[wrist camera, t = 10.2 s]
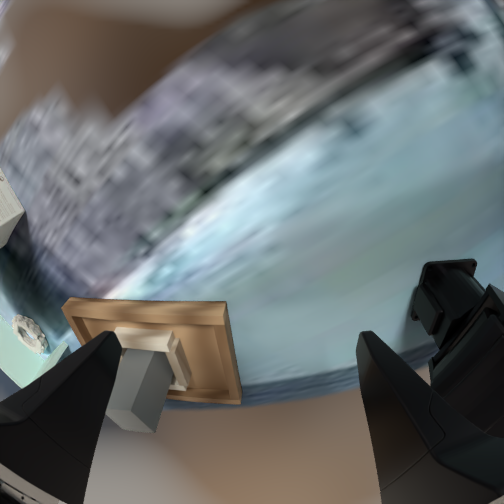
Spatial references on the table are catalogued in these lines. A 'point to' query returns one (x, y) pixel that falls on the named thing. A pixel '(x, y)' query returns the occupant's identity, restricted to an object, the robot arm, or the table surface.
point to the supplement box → (8, 209)
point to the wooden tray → (169, 340)
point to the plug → (140, 390)
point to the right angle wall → (25, 350)
